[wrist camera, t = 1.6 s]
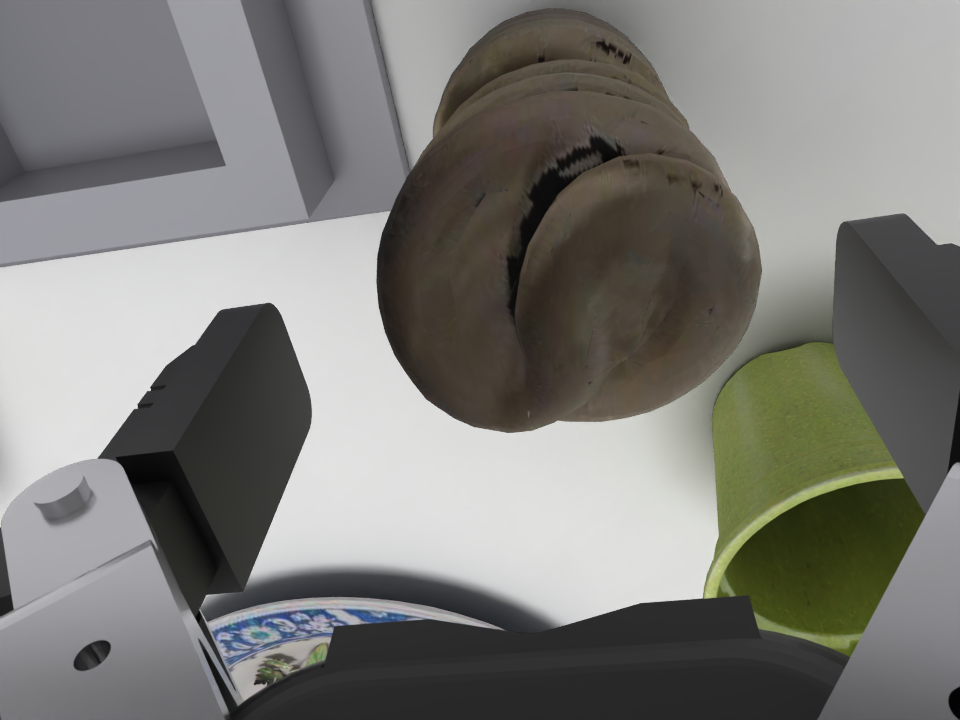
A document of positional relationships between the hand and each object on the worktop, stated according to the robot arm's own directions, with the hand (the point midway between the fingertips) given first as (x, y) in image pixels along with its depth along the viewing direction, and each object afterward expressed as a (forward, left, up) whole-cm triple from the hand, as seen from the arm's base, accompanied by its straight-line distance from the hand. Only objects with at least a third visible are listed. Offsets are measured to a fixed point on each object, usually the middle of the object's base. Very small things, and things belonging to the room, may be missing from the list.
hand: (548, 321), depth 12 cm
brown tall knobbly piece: (0, 0, -14) cm, 14 cm away
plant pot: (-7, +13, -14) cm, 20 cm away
